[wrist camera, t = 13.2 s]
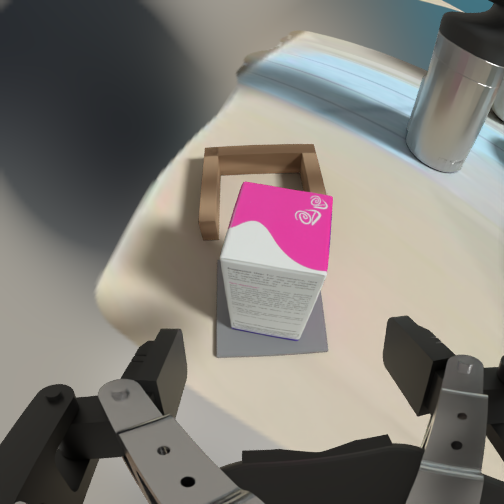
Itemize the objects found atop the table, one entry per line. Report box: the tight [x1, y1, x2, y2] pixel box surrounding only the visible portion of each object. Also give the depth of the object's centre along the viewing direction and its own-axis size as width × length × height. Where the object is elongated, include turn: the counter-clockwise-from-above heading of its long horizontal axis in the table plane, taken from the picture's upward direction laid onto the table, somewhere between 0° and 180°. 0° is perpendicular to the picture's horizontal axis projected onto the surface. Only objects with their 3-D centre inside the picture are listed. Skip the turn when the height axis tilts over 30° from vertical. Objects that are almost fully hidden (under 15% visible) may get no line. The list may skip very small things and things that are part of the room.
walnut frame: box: [198, 144, 326, 240], centre depth 33 cm, size 10×12×3 cm
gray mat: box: [217, 260, 328, 358], centre depth 28 cm, size 9×9×1 cm
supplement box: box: [220, 182, 333, 341], centre depth 23 cm, size 6×6×12 cm
